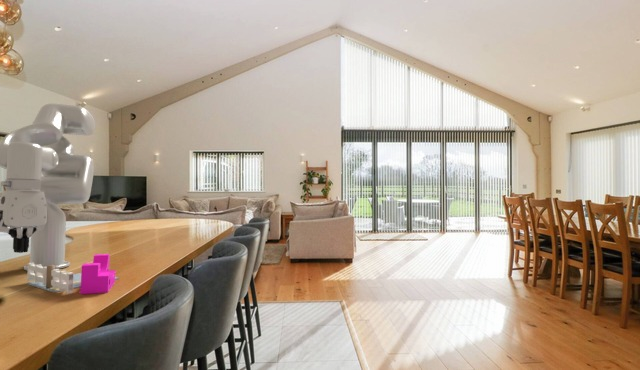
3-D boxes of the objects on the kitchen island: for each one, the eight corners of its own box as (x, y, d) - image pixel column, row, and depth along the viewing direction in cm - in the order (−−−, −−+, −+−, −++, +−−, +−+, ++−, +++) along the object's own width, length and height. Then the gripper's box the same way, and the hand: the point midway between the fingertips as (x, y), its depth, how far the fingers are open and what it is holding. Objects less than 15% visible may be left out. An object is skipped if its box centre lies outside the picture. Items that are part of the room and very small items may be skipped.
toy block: (107, 292, 95) (108, 264, 95) (80, 294, 92) (81, 265, 92) (117, 277, 109) (118, 253, 109) (94, 279, 106) (95, 254, 106)
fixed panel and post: (44, 289, 97) (45, 265, 97) (52, 287, 98) (53, 264, 98) (66, 295, 91) (67, 271, 91) (74, 294, 93) (74, 269, 93)
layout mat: (26, 283, 101) (26, 282, 101) (90, 272, 117) (90, 270, 117) (54, 292, 93) (54, 290, 93) (119, 278, 109) (119, 277, 109)
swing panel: (49, 284, 98) (50, 266, 98) (44, 285, 97) (45, 267, 97) (32, 279, 103) (32, 262, 103) (27, 280, 102) (27, 263, 102)
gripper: (1, 185, 90) (-3, 256, 89) (60, 187, 104) (57, 249, 104) (-18, 185, 93) (-22, 255, 92) (43, 187, 107) (40, 248, 106)
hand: (20, 252), depth 98 cm, fingers closed
